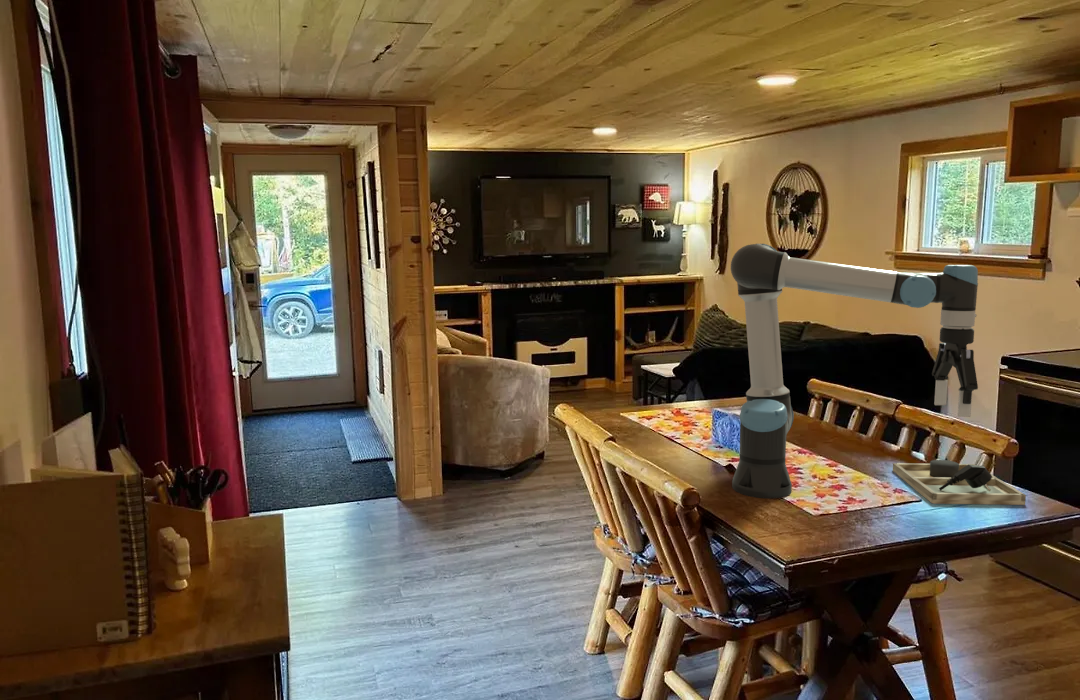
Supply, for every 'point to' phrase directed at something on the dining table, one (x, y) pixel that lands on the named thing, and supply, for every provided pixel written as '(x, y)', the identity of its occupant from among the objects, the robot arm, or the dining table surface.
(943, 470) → the dark gray rounded block
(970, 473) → the power plug
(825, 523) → the dining table surface
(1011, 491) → the organizer
